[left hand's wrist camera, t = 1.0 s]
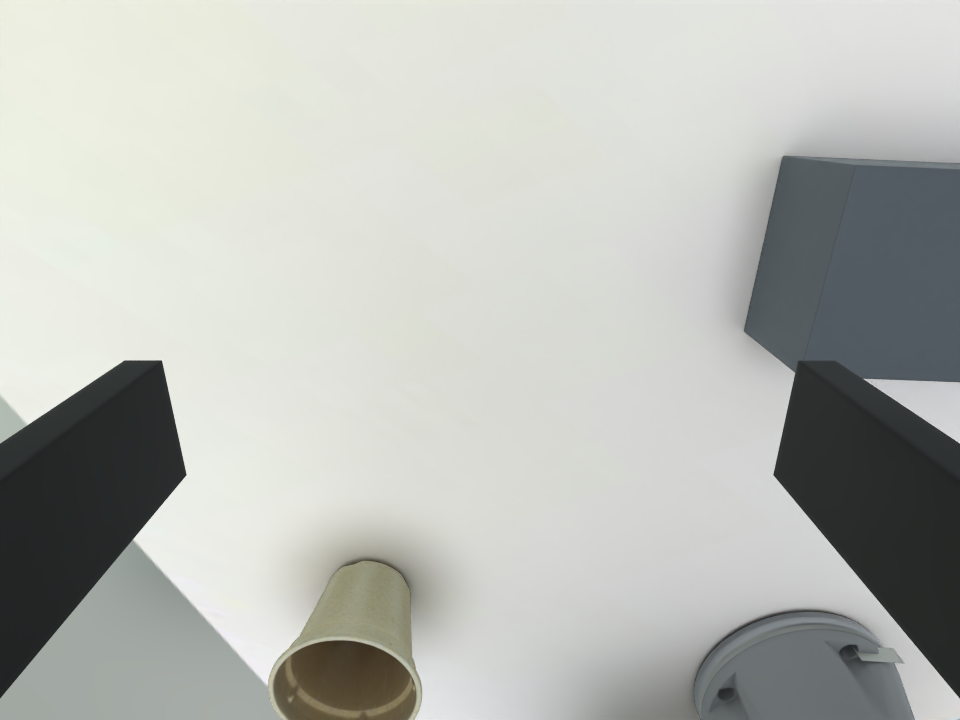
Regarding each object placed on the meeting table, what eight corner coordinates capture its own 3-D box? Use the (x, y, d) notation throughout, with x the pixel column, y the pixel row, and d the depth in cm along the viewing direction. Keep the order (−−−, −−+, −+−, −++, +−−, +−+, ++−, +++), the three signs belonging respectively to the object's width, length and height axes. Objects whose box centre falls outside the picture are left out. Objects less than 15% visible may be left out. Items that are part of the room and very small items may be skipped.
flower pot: (300, 538, 42) (259, 636, 34) (432, 541, 42) (421, 639, 34) (310, 636, 46) (275, 746, 38) (432, 639, 46) (422, 748, 38)
